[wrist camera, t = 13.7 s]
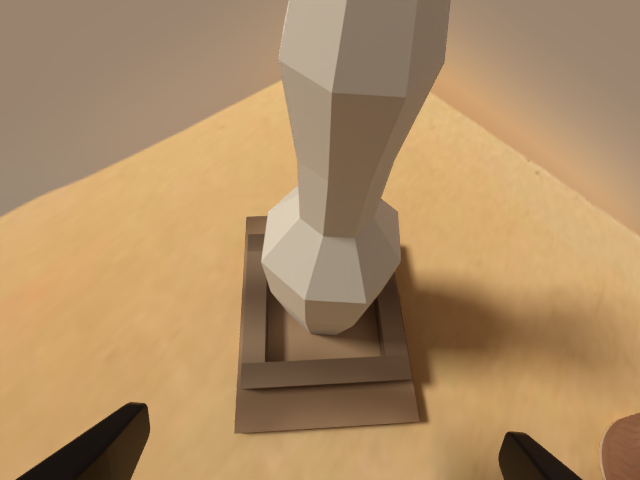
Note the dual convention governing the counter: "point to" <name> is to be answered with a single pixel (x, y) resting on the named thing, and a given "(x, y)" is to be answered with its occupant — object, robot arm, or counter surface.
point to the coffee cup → (621, 449)
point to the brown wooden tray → (317, 361)
